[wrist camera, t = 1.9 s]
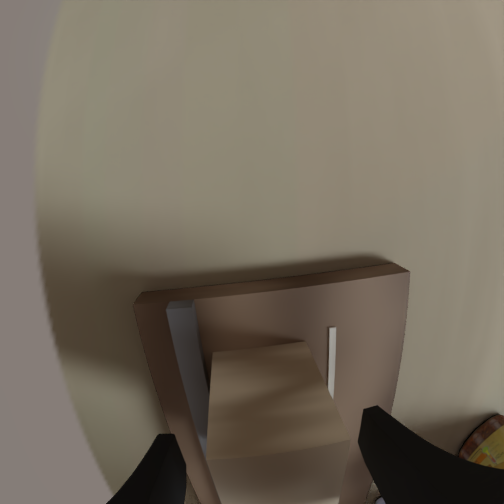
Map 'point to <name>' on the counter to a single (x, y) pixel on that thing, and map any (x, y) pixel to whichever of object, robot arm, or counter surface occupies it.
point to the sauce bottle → (486, 444)
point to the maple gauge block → (274, 428)
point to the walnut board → (277, 333)
